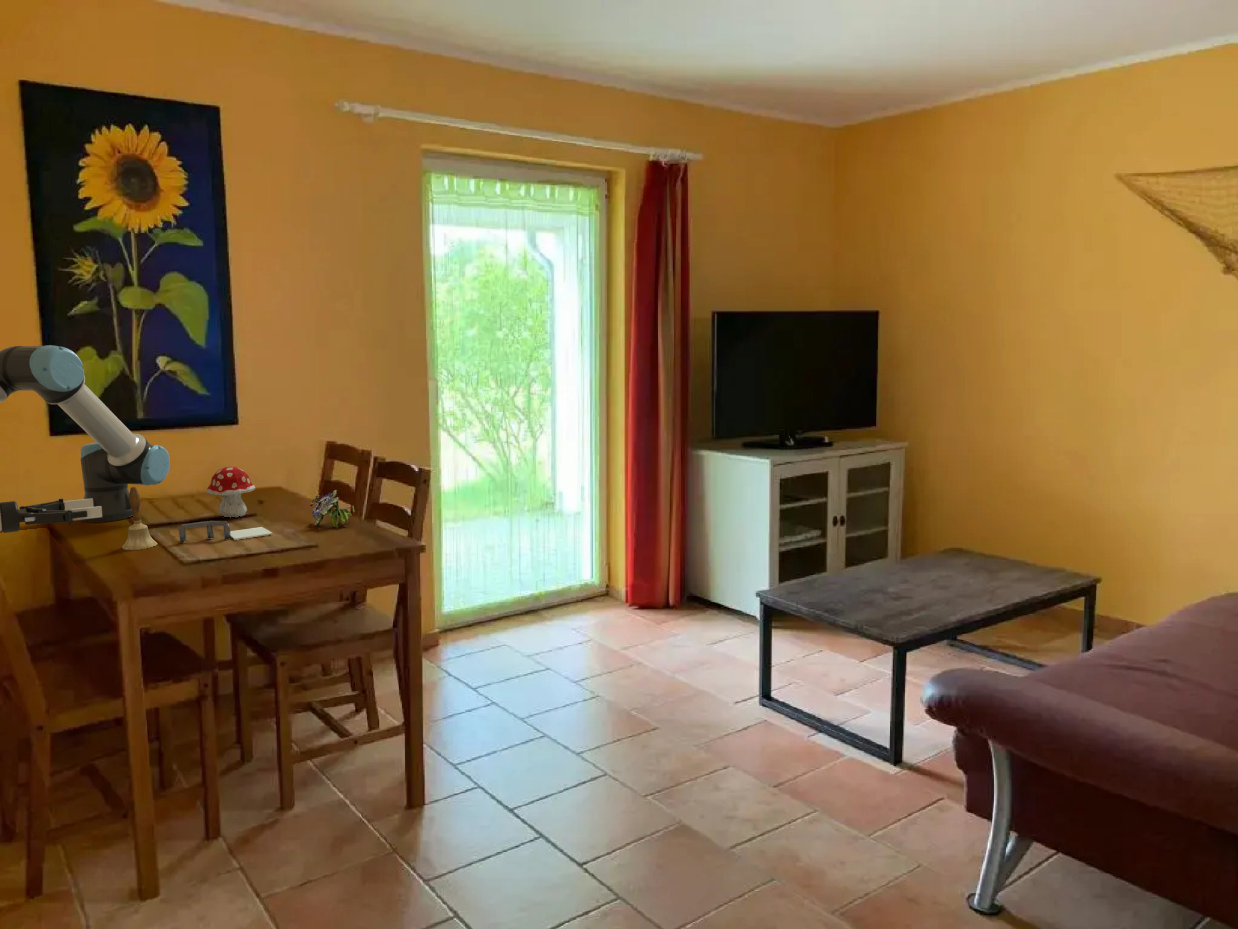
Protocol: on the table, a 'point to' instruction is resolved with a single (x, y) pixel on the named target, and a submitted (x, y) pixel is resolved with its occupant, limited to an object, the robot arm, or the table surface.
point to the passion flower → (329, 509)
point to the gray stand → (209, 529)
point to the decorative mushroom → (231, 490)
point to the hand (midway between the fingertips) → (97, 507)
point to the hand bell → (137, 527)
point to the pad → (249, 533)
